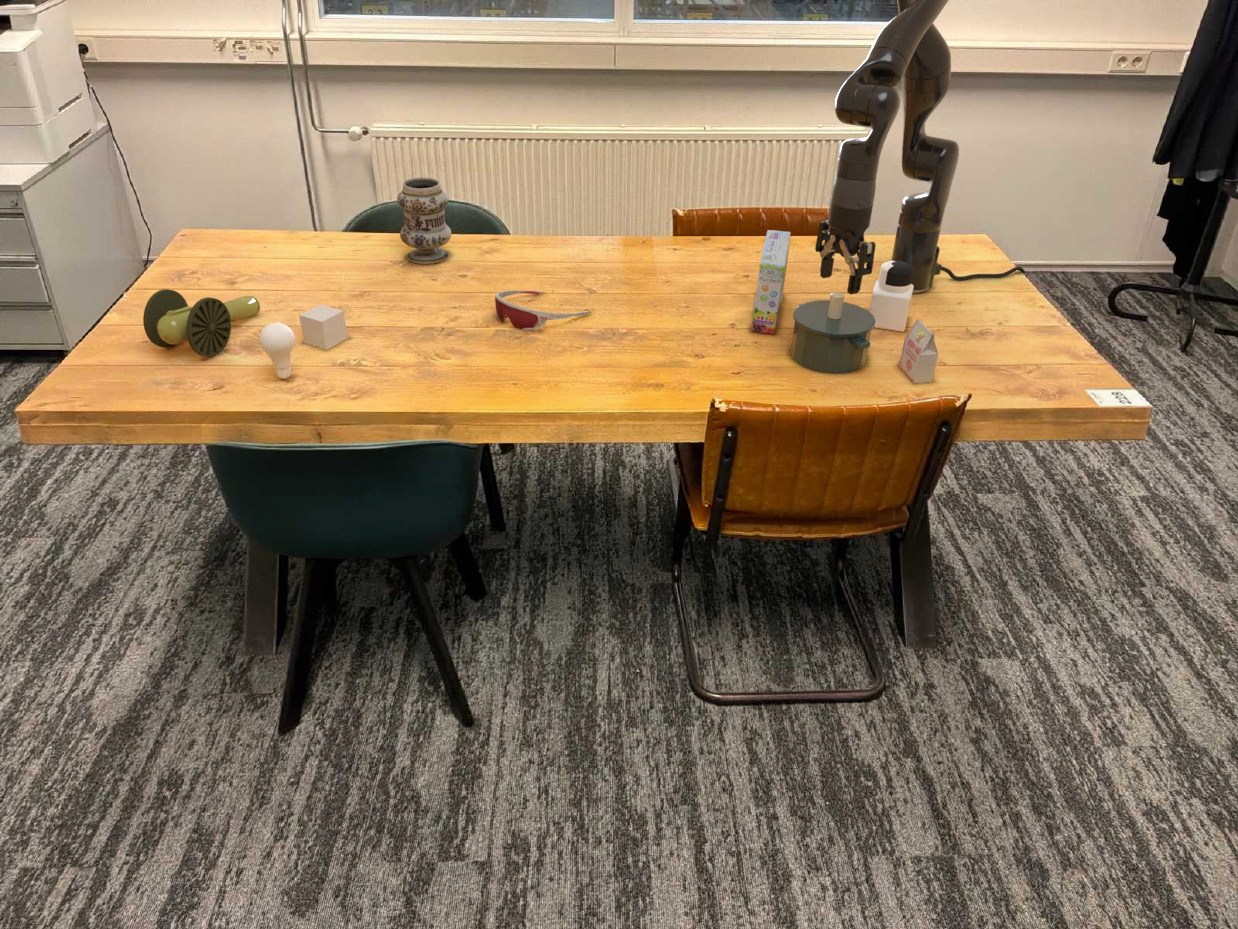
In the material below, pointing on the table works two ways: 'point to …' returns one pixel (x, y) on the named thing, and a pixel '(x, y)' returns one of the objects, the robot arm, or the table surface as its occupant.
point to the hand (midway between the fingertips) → (838, 284)
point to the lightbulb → (278, 347)
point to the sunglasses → (525, 312)
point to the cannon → (194, 320)
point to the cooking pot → (829, 351)
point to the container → (892, 296)
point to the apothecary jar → (424, 220)
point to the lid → (834, 317)
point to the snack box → (771, 281)
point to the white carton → (919, 354)
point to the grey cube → (323, 326)
